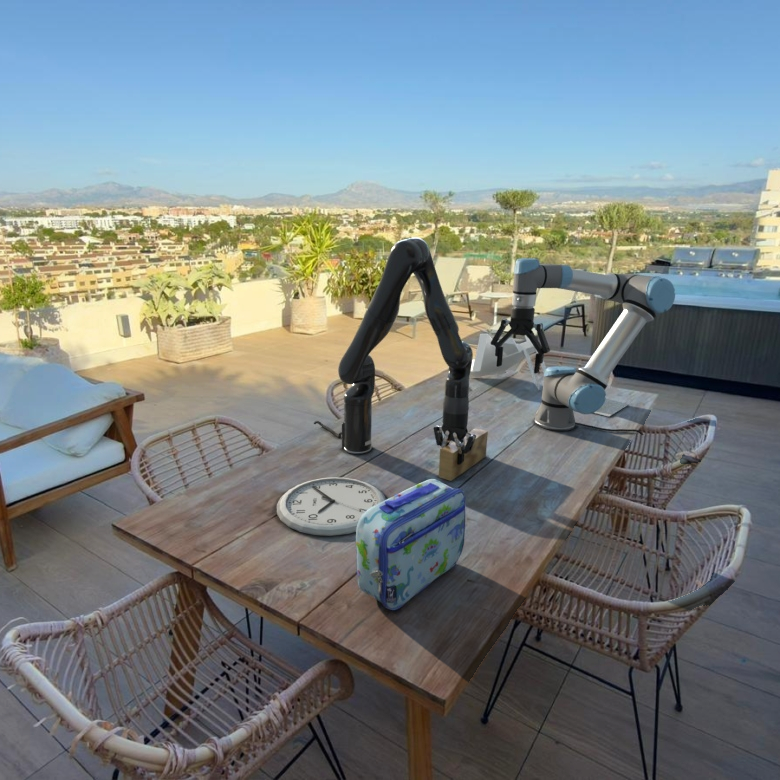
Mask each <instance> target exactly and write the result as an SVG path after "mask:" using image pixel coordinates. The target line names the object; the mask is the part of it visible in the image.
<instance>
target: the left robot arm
mask: <svg viewBox="0 0 780 780" xmlns="http://www.w3.org/2000/svg"><path fill="white" fill-rule="evenodd" d="M382 272H383V273H382V276H381V278H380V280H379V283H378V285H377V287H376V289H375V291H374V293H373V295H372V298H371V299H370V301H369V303H368V306H367V308H366V310H365V312H364V314H363V316H362V319H361V322H360V323H359V326H358V327H357V330H356V332H355V335H354V337H353V339H352V340H351V342H350V344H349V345H348V348H347V349H346V351H345V352H344V354H343V356H342V357H341V359H340V361H339V364H338V370H337V371H338V377H339V379H340V381H341V382H342V383H343V384H346V385H350V387H349V388H348V389H347V390H346V391H345V392H344V394H343V421H342V422H341V431H339V432H338V433H337V432H335V431H334V430H333V429H331V428H330V427H328V426H327V425H325V424H323V423H322V422H321V421H320V420H314V422H313V425H316V424H318V425H319V426H321V427H322V428H323V429H325V430H327V431H328V432H330V433H331V434H332V435H333V436H335V437H336V438H338V439H340V438H341V449H342V450H343V451H345V452H346V453H348V454H351V455H365V454H367V453H370V452H371V451H372V449H373V448H372V419H373V418H372V399H373V395H374V392H375V383H376V381H375V380H376V365H375V361H374V359H373V357H372V356H371V355H370V354H371V353H372V352H373V350H374V349H375V348H376V347H377V346H378V345H379V344H380V343H382V341H383V340H384V339H386V337H387V336H388V334H390V332H391V330H392V327H393V326H394V324H395V322H396V320H397V318H398V316H399V312H400V307H401V296H402V294H403V293H402V292H403V290H404V288H405V287H406V284H407V283H408V281H409V279H410V278H411V276H412V275H414V276H415V279H416V280H417V282H418V285H419V287H420V290H421V294H422V299H423V307H424V311H425V315H426V318H427V321H428V323H429V325H430V327H431V329H432V331H433V333H434V335H435V337H436V340H437V343H438V346H439V349H440V353H441V355H442V358H443V360H444V362H445V364H446V365H447V366H448V372H447V376H446V378H445V381H444V397H443V403H442V420H441V421H442V425H441V424H437V425H435V426H433V428H432V429H433V433H434V438H435V444H436V445H437V446H439V447H441V449H442V448H444V447H445V446H447V445H449V444H450V443H451V442H455V444H456V447H457V448H458V458H457V464H458V465H460V464H462V463H463V462H464V454H466V453H468V452H469V451H471V449H472V446H473V444H474V441H475V438H476V435H475V434H473V435H471V434H470V433H469V431H468V428H467V427H468V422H469V410H470V400H469V399H470V398H469V396H470V395H469V393H470V372H471V366H472V360H473V359H474V358H473V357H474V356H473V355H474V354H473V353H474V352H473V349H472V347H471V345H470V344H469V343H467V342H465V341H462V339H461V336H460V333H459V331H460V327H459V324H458V321H456V318H455V315H454V314H453V311H452V309H451V307H450V305H449V303H448V301H447V299H446V296H445V294H444V293H445V292H444V291H443V288H442V285H441V282H440V279H439V275H438V273H437V269H436V266H435V262H434V259H433V256H432V252H431V250H430V247H429V245H428V243H427V242H426V241H425V240H423V238H420V237H410V238H405V239H402V240H399V241H397V242H396V243H395V244H394V245H393V247H391V250H390V252H389V254H388V256H387V260H386V264H385V266H384V269H383V271H382ZM443 434H444V435H443ZM465 436H466V437H467V439H466V440H467V443H466V446H465V440H464V437H465Z"/></svg>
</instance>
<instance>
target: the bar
mask: <svg viewBox="0 0 780 780" xmlns="http://www.w3.org/2000/svg"><path fill="white" fill-rule="evenodd" d="M468 433H470V434H471V435H473V434H475V435H476V438H475V441H474V444H473V446H472V449H471V451H469V452H468V453H466V454H464V462H463V463H462V464H460V465H458V464H457V458H458V448H457V447H456V444H455V442H453V441H451V442H450V443H449V445H447V446H445V447H444V448H442V447H441V448H440V450H439V463H438V465H439V466H438V478H441V479H444V480H446V481H449V482H452V481H454V480H455V479H457V478H458V477H459V476H461V475H462V474H463V473H465V472H466V471H467V470H470V468H471V467H473V466H474V465H476V464H478V463H479V462H480V461H482V460H483V459H485V458H486V457H487V448H488V436H489V435H488V434H489V431H488V430H485V429H483V428H482V429H481V428H479V427H478V428H477V427H475V428H474V429H472V430H470V431H468ZM466 439H467V437H466V436H465V437H464V440H465V446H466V443H467V440H466Z"/></svg>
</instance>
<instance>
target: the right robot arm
mask: <svg viewBox="0 0 780 780" xmlns="http://www.w3.org/2000/svg"><path fill="white" fill-rule="evenodd" d="M512 285H513V286H512V288H513V289H512V299H511V306H512V307H511V309H510V319H507V318H503V319H501V321H500V326H498V329H497V331H496V332H495V334H494V335H493V337H492V341H491V345H494V346H495V356H497V365H496V366H497V367H499V366H501V365H502V356H503V347H501V346H502V344H503V343H504V342H505V341H506V340H507V339H508V338H511V337H512V336H513V335H518V336H523V337H525V335H526V336H527V337H528V338H529V339H530V341H531V343H532V344H533V346H534V347H535V349H536V350H537V352H538V353H537V352H536V354H535V358H534V359H535V360H534V366H533V367H534V373H536V374H538V373H540V369H541V363H543V359H544V356H545V354H548V353H550V352H551V349H550V346H549V343H548V340H547V337H546V335H545V332H544V324H543V322H539V323H535V322H534V320H535V311H536V309H535V308H534V307H535V306H536V301H537V291H538V289H558V290H559V289H560V290H565V291H572V292H578V293H583V294H589V295H595V296H600V298H601V299H603V300H607V301H611V302H615V303H617V304H621V305H622V309H623V310H622V312H621V314H620V315H619V316H618V317H617V319H616V321H614V323H613V324H612V326H611V328H610V329H609V331H608V332H607V333H606V335H605V336H604V338H603V340H602V341H601V342H600V344H599V345H598V347H597V349H596V350H595V351H594V352H593V354H592V355H591V356H590V359H589V360H588V361H587V363H586V364H585V366H583V367H579V368H576V367H572V366H558V365H557V366H549V367H546V368H547V369H546V370H545V373H543V381H542V382H543V384H542V394H541V402H540V405H539V407H538V409H537V410H536V413H535V417H534V424H535V425H536V426H537V427H539V428H542V429H544V430H549V431H556V432H567V431H572V430H574V429H575V428H576V425H577V426H581V427H586V428H590V429H595V430H599V431H605V432H635V433H638V434H640V435H641V436H644V433H643V432H642V431H641V430H638V429H633V428H632V429H628V428H627V429H626V428H617V429H615V428H614V429H612V428H603V427H598V426H593V425H589V424H586V423H581V422H577V421H576V418H575V417H576V416H575V413H574V412H576V413H579V414H581V415H590V414H595V413H594V412H596V411H597V410H599V409H600V408H601V407H602V406H603V404H604V402H605V399H606V400H607V398H606V396H607V392H606V389H607V387H608V382H607V379H608V378H609V377H610V376H611V374H612V373H613V371H614V370H615V368H616V366H617V365H618V364H619V363H620V361H621V359H622V358H623V356H624V355H625V354H626V352H627V350H628V349H629V348H630V346H631V345H632V344H633V342H634V341H635V339H636V338H637V337H638V335H639V333H640V332H641V330H642V329H643V328H644V327H645V325H646V323H649V322H653V321H654V320H655V318H656V317H657V315H658V314H663V313H665V312H667V311H669V310H671V308H672V306H673V305H674V303H675V298H676V292H675V291H676V289H675V286H674V284H673V283H672V281H671V280H669V279H668V278H665V277H661V276H657V275H656V276H653V275H643V274H639V273H614V272H608V273H605V274H604V273H598V272H592V271H587V270H581V269H575V268H572V267H571V266H570V265H568V264H552V263H544V262H540V259H539V258H529V257H528V258H526V257H522V258H517V259H516V261H515V265H514V271H513V284H512ZM507 326H509V327H510V329H509V330H508V331H507V332H506V333H505V335H503V333H504V332H505V330H506V328H507ZM533 329H534V330H535V331H536V334H537V337H538V338H537V337H536V335H535V333H534V331H533ZM502 335H503V336H502ZM501 336H502V337H501ZM498 340H500V341H499V342H497V341H498Z"/></svg>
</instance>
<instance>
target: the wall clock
mask: <svg viewBox="0 0 780 780" xmlns="http://www.w3.org/2000/svg"><path fill="white" fill-rule="evenodd" d="M385 500H387V498H386V496H385V494H384V493H383V492H382V491H381V490H380V489H379V488H377V487H376V486H374V485H372V484H371V483H369V482H365V481H362V480H359V479H355V478H349V477H338V476H337V477H335V476H333V477H332V476H331V477H322V478H317V479H312V480H307V481H305V482H302V483H299V484H297V485H295V486H293V487H292V488H290V489H288V490H287V491H286V492H285V493H284V494H283V495H281V496H280V498H279V499H278V502H277V503H276V515H277V517H278V518H279V520H280V521H281V522H282V523H283V524H285V525H286V526H287V527H288V528H290V529H293V530H295V531H297V532H299V533H303V534H308V535H312V536H327V537H328V536H329V537H331V536H332V537H333V536H342V535H350V534H352V533H356V529H357V525H358V522H359V520H360V518H361V516H362V515H363V513H364V512H365V511H366V510H368V509H369V508H371V507H373V506H375V505H377V504H379V503H381V502H383V501H385Z"/></svg>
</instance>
